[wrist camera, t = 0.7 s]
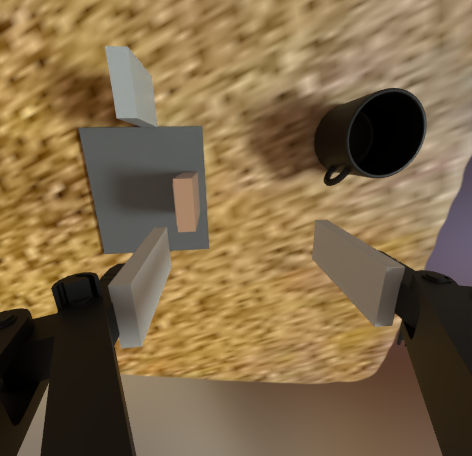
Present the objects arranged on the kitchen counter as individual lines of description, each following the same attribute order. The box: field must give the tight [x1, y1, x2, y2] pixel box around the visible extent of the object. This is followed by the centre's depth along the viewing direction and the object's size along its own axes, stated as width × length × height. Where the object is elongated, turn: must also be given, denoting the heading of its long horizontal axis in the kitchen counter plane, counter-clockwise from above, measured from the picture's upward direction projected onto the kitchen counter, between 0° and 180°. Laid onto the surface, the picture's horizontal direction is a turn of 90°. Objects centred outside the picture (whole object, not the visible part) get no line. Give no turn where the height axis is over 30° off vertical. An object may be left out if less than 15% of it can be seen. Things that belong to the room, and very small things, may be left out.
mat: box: [79, 126, 209, 254], centre depth 34 cm, size 18×16×1 cm
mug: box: [314, 88, 426, 186], centre depth 31 cm, size 9×12×9 cm
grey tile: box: [105, 46, 158, 127], centre depth 27 cm, size 6×2×9 cm, turn 1°
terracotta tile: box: [173, 172, 200, 232], centre depth 30 cm, size 6×2×9 cm, turn 1°
